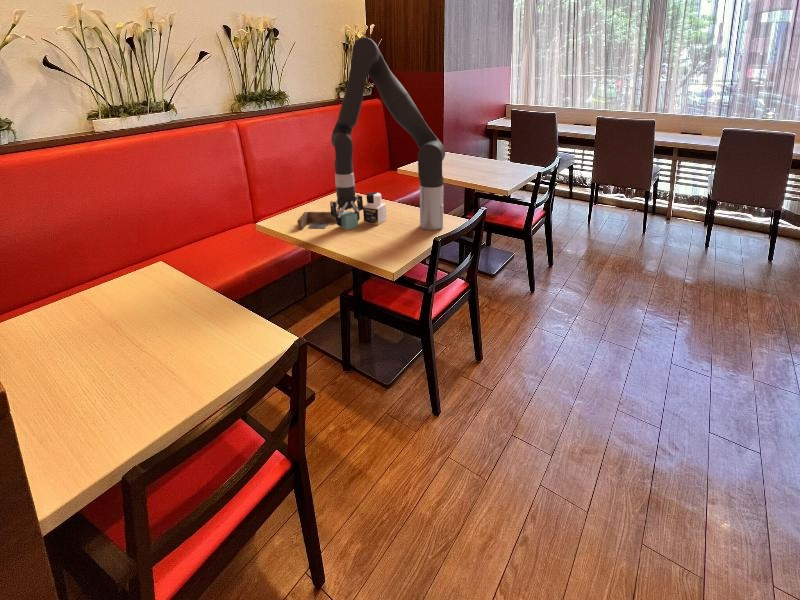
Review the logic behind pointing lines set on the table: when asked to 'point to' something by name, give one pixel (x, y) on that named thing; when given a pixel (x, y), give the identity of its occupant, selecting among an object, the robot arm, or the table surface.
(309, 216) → the arena
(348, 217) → the block
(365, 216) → the medicine bottle
